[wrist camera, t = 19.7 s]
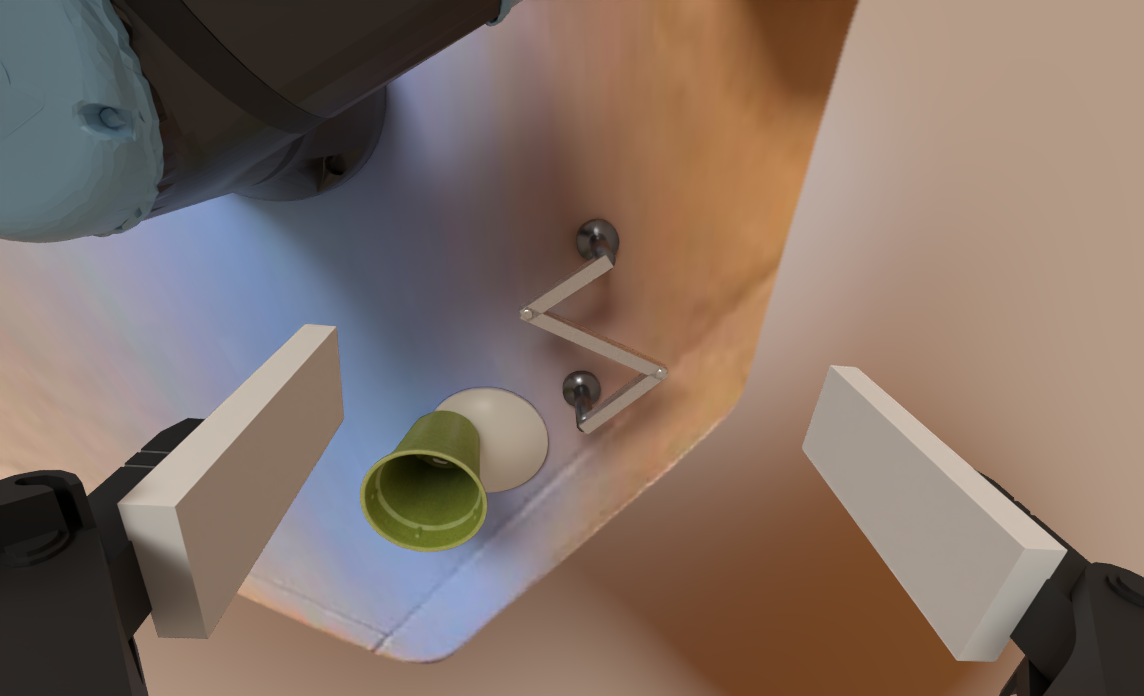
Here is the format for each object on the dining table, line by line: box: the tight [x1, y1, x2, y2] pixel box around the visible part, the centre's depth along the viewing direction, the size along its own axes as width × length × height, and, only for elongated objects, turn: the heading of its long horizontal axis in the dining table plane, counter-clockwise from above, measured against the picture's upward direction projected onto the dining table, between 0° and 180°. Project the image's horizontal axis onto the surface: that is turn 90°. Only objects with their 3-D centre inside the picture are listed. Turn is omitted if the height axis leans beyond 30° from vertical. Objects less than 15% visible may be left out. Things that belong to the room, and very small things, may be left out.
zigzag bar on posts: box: [519, 219, 668, 435], centre depth 42 cm, size 11×16×7 cm
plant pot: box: [360, 410, 487, 552], centre depth 44 cm, size 9×9×9 cm
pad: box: [433, 387, 548, 493], centre depth 49 cm, size 11×11×1 cm
